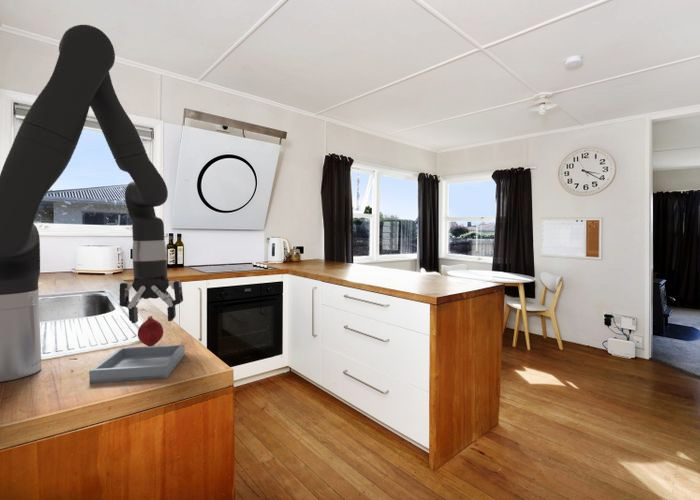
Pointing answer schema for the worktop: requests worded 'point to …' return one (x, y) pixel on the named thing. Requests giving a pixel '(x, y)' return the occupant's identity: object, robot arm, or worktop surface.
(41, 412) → the worktop surface
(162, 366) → the tray
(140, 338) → the onion
